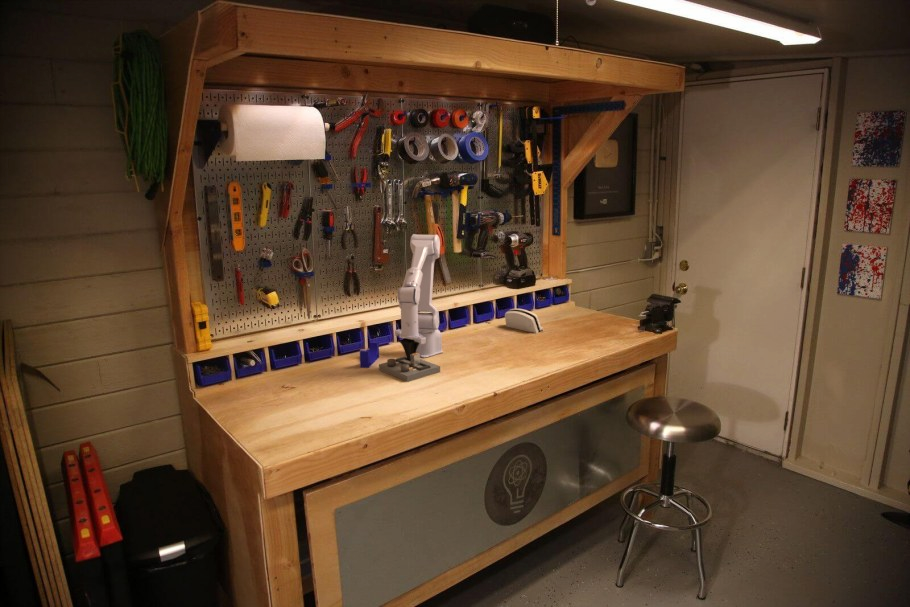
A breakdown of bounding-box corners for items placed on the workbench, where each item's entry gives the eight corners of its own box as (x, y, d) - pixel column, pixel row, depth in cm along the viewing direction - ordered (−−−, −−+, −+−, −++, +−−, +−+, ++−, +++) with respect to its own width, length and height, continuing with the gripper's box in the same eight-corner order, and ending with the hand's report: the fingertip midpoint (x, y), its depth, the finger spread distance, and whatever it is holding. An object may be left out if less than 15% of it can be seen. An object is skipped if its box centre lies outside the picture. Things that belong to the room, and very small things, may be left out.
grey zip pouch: (544, 330, 255) (539, 310, 251) (537, 336, 252) (533, 316, 248) (513, 324, 267) (508, 304, 262) (506, 329, 264) (501, 309, 259)
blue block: (367, 356, 225) (366, 341, 223) (379, 357, 224) (378, 341, 222) (356, 367, 213) (355, 351, 212) (368, 368, 212) (368, 351, 211)
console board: (411, 360, 219) (410, 350, 218) (440, 371, 207) (440, 360, 206) (379, 369, 210) (378, 358, 209) (407, 381, 198) (407, 370, 197)
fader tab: (416, 363, 210) (416, 351, 209) (420, 364, 208) (419, 353, 207) (410, 365, 208) (410, 353, 207) (414, 366, 206) (413, 354, 205)
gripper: (387, 319, 209) (388, 357, 212) (413, 327, 198) (414, 367, 202) (403, 315, 214) (405, 353, 217) (430, 323, 203) (431, 362, 206)
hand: (410, 359), depth 209 cm, fingers closed
